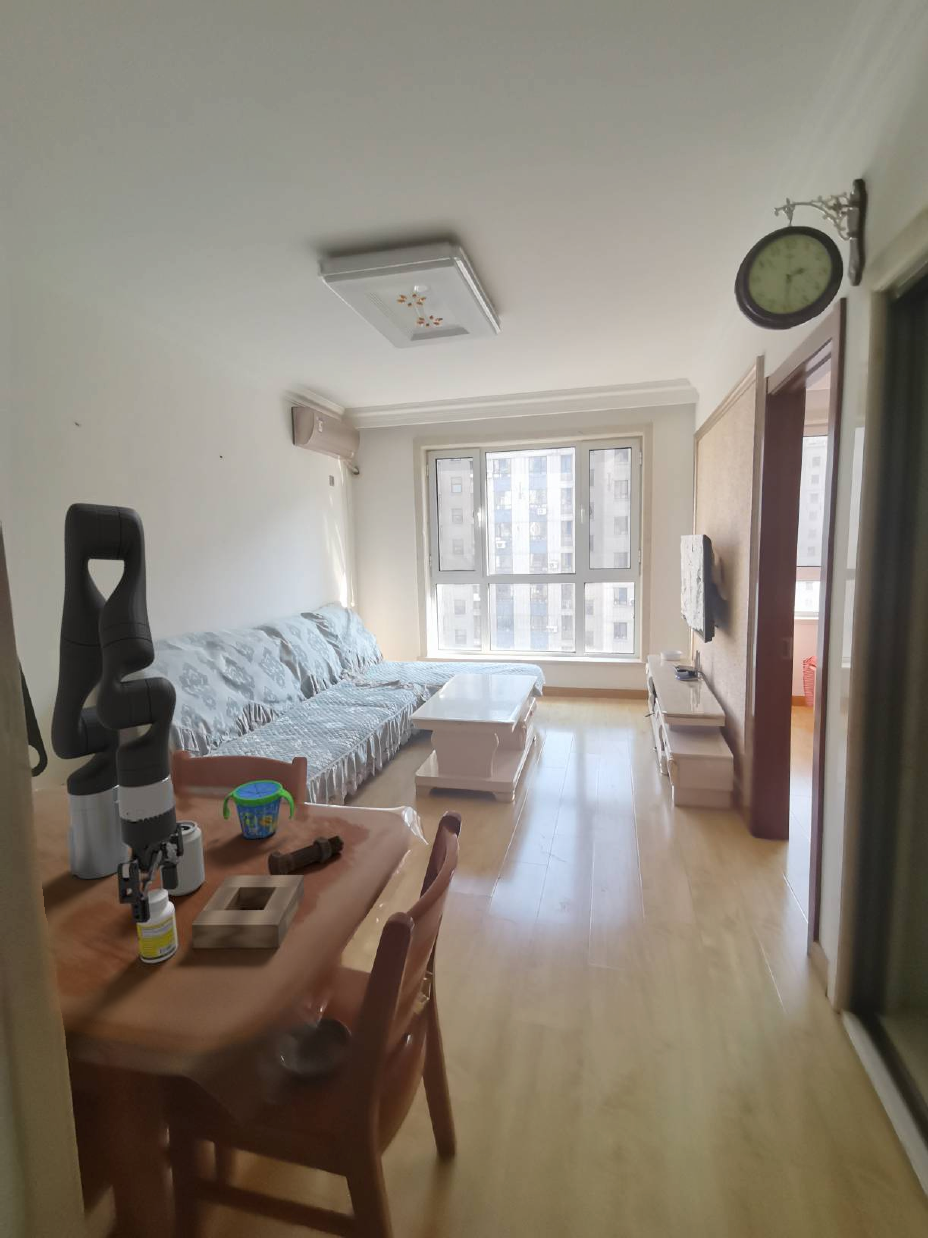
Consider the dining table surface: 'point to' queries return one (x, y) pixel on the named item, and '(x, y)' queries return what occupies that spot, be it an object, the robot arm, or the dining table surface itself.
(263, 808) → the snack cup
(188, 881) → the can
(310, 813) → the dining table surface
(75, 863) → the robot arm
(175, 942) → the supplement bottle
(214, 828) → the dining table surface
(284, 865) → the bolt
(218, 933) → the socket block
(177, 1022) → the dining table surface
